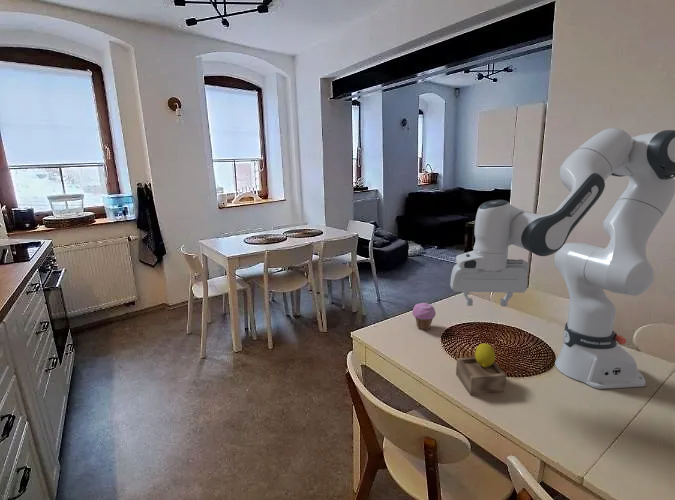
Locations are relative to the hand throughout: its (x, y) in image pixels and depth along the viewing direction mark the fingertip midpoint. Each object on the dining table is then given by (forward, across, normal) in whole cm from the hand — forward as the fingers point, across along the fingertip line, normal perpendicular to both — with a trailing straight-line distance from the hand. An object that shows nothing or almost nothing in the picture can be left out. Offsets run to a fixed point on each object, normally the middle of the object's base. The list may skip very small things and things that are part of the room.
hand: (486, 305), depth 103 cm
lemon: (+18, 0, +4) cm, 18 cm away
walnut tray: (+24, +1, +4) cm, 24 cm away
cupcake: (+24, +14, -31) cm, 41 cm away
